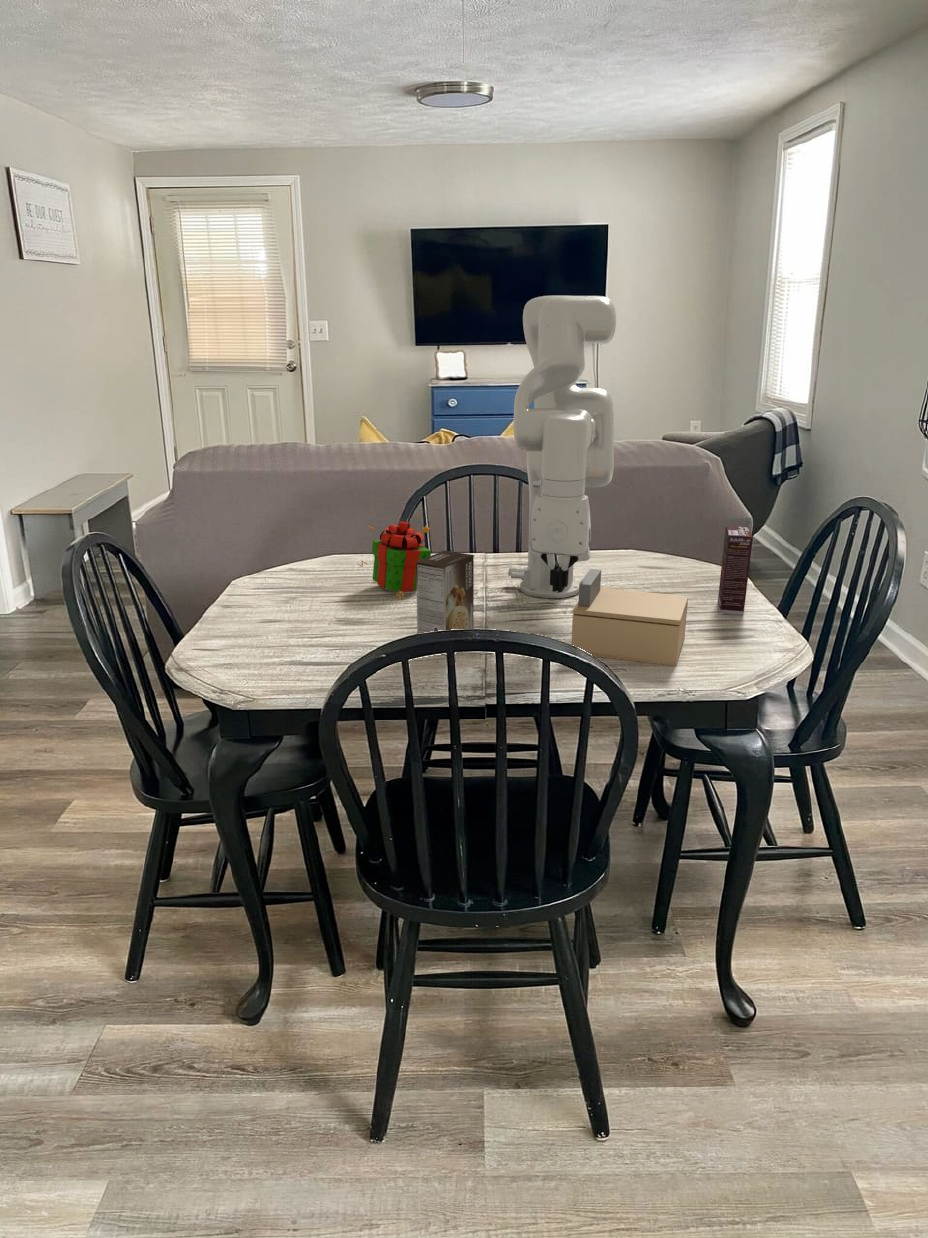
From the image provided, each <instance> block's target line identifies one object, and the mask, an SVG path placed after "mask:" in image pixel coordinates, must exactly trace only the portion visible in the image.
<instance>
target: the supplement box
mask: <svg viewBox="0 0 928 1238" xmlns="http://www.w3.org/2000/svg"><path fill="white" fill-rule="evenodd" d="M724 531H725V532H724V538H723V540H724V541H723V550H722V556H721V557H722V558H721V568H720V576H719V587H718V597H717V603H718V610H719V614H721V615H733V616H744V614H745V606H746V597H747V590H748V581H749V574H750V573H749V572H750V564H751V557H752V556H751V555H752V547H753V539H754V537H753V534H752V532H751V529H750V527H748V526H738V525H726V526H725V530H724Z"/></svg>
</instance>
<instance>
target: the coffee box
mask: <svg viewBox="0 0 928 1238" xmlns="http://www.w3.org/2000/svg"><path fill="white" fill-rule="evenodd" d="M474 556H475V555H474V554H468V553H464V552H463V553H462V552H457V551H450V550H443V551H440V552H437V553H435V554H433V555H432V554H431V556H429V557H427V558H424V559H422V560H419V561H417V562H416V584H417V589H416V623H417V626H416V627H417V629H416V631H417V632H416V633H417V634H419V633H424V632H430V631H438V630H451V629H473V628H474V626H475V625H474V624H475V623H474V622H475V621H474V618H475V617H474V611H475V609H474V599H475V598H474V596H475V595H474V593H475V592H474V587H475V586H474V585H475V584H474V581H475V580H474V575H475V573H474V563H475V562H474V561H475V560H474Z"/></svg>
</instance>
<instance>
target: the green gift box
mask: <svg viewBox="0 0 928 1238" xmlns="http://www.w3.org/2000/svg"><path fill="white" fill-rule="evenodd" d="M367 528H369V532H370V531H372V529H373V533H374V532H375V527H372V526H370V525H368V526H367ZM421 530H422V532H420V531H415V529H414V528H413V527H411V523H410V522H404V521H399V523H398V525H395V524H390V525H389V526H387V527H386V528H385V529H384V530H383V531H382V532H381V533H380V535H379V539H375V540H374V539H373V540H372V547H371V554H372V555H373V556H374V557H373V568H372V569H373V570H372V580H373V582H375V583H376V584H377V585H378V586H380V587H381V588H383V589H387V590H389V591H390V592H394V591H398V592H397V593H396V597H398V598H399V599H403V598H404V595H405V593H404V592H413V591H414V590H417V584H416V562H417V561H419V560H422V559H424V558H427V557H429V556H432V550H431V549H429V548H426V546H425V545H423V542H424V535H423V534H425V533H426V534H429V531H430V530H431V528H430V527H428V525H425V526H424V527H422V528H421ZM363 563H364V564H365V565H368V562H366V561H364V560H361V564H360V563H357V565H358V566H359V567H361V568H363V566H364V565H363ZM401 594H402V596H401Z"/></svg>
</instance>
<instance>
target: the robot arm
mask: <svg viewBox="0 0 928 1238" xmlns="http://www.w3.org/2000/svg"><path fill="white" fill-rule="evenodd" d="M522 326H523V334H524V339H525V342H526V346H527V347H526V348H527V350H528V352H529V355H530V358H531V361H532V365H533V368H532V369H531V370H529V372H528V373H527V374H526V375H525V376H524V378H523V379H522V381H521V382H520V383H519V386H518V388H517V390H516V393H515V397H514V401H513V436H514V437H513V439H514V441H515V444H516V446H517V447H518V448H519V449H520V450H522V451H525V452H526V460H525V461H526V470H527V471H526V472H527V479H528V480H527V481H528V489H529V490H528V491H529V496H528V497H529V515H528V518H529V519H528V548H527V550H528V552H527V566H524V567H523V568H520V567H515V566H509V567H508V571H507V572H508V573H507V575H508V576H509V577H510V578H511V579H517V580H518V579H519V580H521V582H520V583H519V590H520V591H521V592H522V593H524V594H526V595H528V596H531V597H536V598H540V599H541V598H542V599H562V598H568V597H573V596H576V595H577V594H579V584H580V583H578V581H575V580H574V565H575V564H576V563H578V562H579V563H581V562H587V561H589V560H590V559H591V557H592V556H591V551H590V546H591V542H592V541H591V539H592V538H591V537H592V536H591V535H592V534H591V533H592V531H591V530H592V529H591V527H592V525H591V509H590V508H591V507H590V503H589V502H590V500H589V496H588V495H585V492H586V488H601V487H602V488H603V487H605V486H607V485H609V484H610V482H611V481H612V480H613V476H614V471H615V470H614V469H615V447H614V446H615V435H614V434H615V433H614V432H615V429H614V427H615V425H614V424H615V423H614V416H615V415H614V403H613V399H612V396H611V394H610V393H609V392H608V391H607V390H606V389H604V388H599V387H579V386H577V380H578V379H579V378H580V377H581V376H582V375H583V372H584V371H585V368H586V367H585V366H586V361H585V360H586V359H585V344H589V345H590V344H591V345H593V344H594V345H596V344H599V345H601V344H609V343H610V342H611V341H612V340H613V338H614V337H615V336H614V335H615V332H616V329H617V328H616V326H617V313H616V310H615V306H614V304H613V302H612V300H611V299H610V298H609V297H606V296H603V295H543V296H537V297H534V298H531V299H530V300H528V301H527V302H526V304H525V305H524V308H523V313H522ZM532 403H534V407H533V408H532V407H530V405H532Z"/></svg>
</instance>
